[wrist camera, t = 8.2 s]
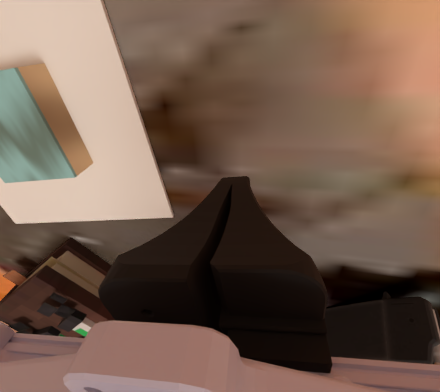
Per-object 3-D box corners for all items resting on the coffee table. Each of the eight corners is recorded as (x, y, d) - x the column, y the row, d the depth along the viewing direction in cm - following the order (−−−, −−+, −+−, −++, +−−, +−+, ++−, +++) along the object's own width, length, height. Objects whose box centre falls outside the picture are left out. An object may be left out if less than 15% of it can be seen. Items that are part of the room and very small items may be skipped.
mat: (174, 215, 27) (173, 217, 27) (17, 221, 32) (15, 223, 31) (71, -96, 14) (67, -99, 14) (-172, -14, 19) (-179, -15, 18)
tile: (75, 177, 22) (4, 183, 23) (93, 162, 24) (28, 168, 26) (13, 67, 17) (-71, 84, 18) (44, 63, 19) (-32, 77, 21)
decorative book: (128, 393, 44) (-38, 314, 34) (144, 349, 51) (8, 270, 40) (204, 379, 36) (13, 267, 25) (211, 328, 42) (61, 220, 31)
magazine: (226, 412, 38) (498, 532, 17) (211, 405, 37) (482, 524, 16) (252, 305, 49) (436, 297, 28) (241, 298, 48) (423, 283, 27)
